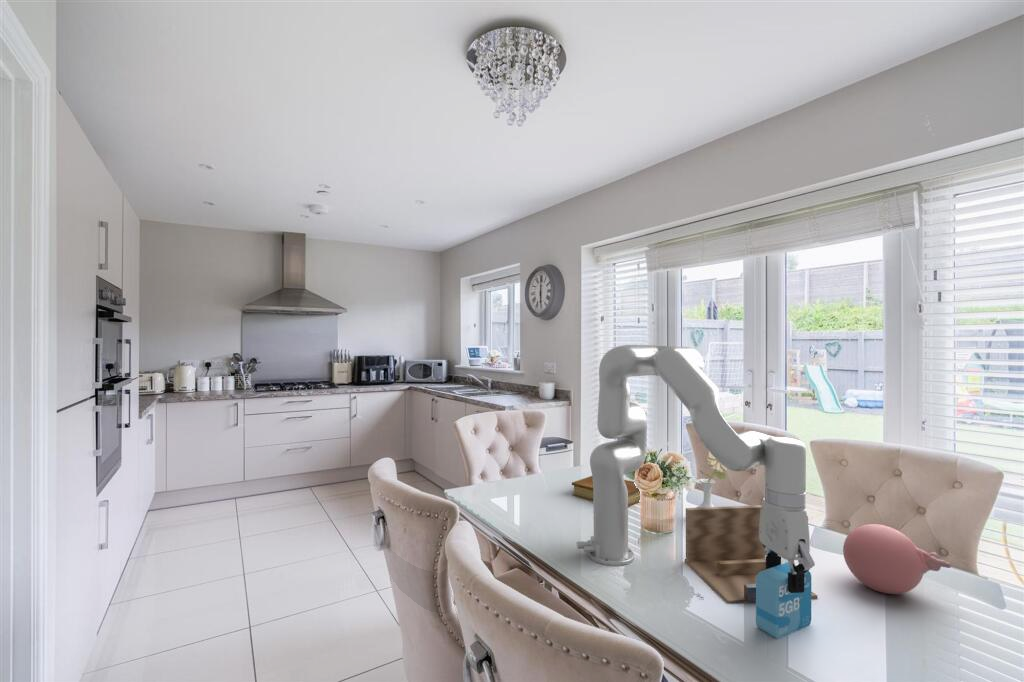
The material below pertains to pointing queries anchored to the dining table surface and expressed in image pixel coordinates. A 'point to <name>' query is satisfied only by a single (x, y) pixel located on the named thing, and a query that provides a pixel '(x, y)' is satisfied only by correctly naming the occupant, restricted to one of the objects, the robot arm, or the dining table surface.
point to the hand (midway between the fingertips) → (784, 582)
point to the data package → (781, 602)
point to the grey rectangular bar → (750, 592)
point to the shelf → (726, 548)
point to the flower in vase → (709, 483)
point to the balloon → (887, 559)
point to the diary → (585, 490)
